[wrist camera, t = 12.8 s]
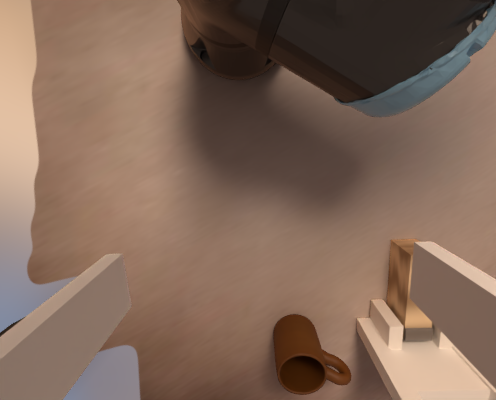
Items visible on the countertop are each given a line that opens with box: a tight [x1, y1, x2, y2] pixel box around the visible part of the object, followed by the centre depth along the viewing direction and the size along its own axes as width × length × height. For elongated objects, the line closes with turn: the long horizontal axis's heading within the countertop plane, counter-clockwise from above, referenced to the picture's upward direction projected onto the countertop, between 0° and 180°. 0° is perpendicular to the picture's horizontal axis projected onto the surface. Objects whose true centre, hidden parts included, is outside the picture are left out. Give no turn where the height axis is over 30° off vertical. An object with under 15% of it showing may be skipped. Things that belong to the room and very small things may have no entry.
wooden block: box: [387, 239, 433, 341], centre depth 43 cm, size 14×4×6 cm, turn 3°
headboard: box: [356, 299, 496, 400], centre depth 40 cm, size 6×14×16 cm, turn 93°
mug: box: [274, 314, 351, 395], centre depth 45 cm, size 12×8×9 cm, turn 75°
